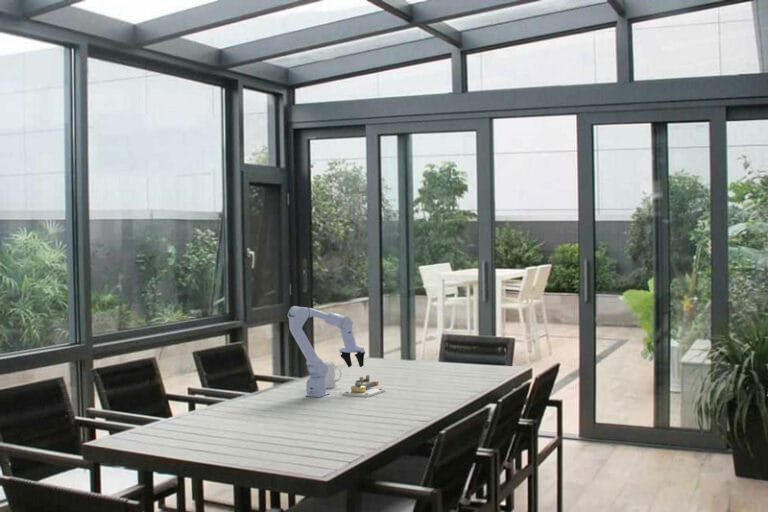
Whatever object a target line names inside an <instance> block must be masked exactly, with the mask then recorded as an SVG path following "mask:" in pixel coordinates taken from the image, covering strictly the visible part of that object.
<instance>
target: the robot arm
mask: <svg viewBox="0 0 768 512" xmlns="http://www.w3.org/2000/svg"><path fill="white" fill-rule="evenodd" d="M287 317H288V326H289V331H290V333H291V335H292V336H293V338H294V340H295V342H296V343H297V346H298V348H299V349H300V351H301V353H302V355H303V356H304V358H305V359H306V362H305V365H306V366H307V371H308V373H309V375H310V377H309V379H307V380H306V384H305V385H306V394H304V396H305V397H313V398H320V397H323V396H327V395H330V392H327V388H326V374H327V372H328V367H327V365H326V364H325V363H323V362H324V361H323V360H322V359H321V358H320V357H319V356H318V355H317V353H316V351H315V349H314V347H313V346H312V344H311V342H310V340H309V339H308V337H307V335H306V333H305V331H304V330H303V327H304V325H305V323H306V321H307V320H308V318H309V319H310V318H312V317H313V318H318V319H321V320H324V322H325V323H326V324H329V325H332V326H335V327H337V328H338V329H339V330H340V334H341V335H340V336H341V338H342V342H343V345H344V347H343V348H342V347H341V348H339V350H338V351H339V353H340V358H341V359H343V361H344V363H346V365H347V367H348V368H351V367H352V366H353V365H352V364H353V363H352V359H351V353H353V354H354V356H355V357H356V360H357V362H358V366H359V368H362V367H364V362H365V361H364V360H365V353H366V351H365V348H364V347H360V346H358V345H357V342H356V338H355V335H354V330H353V324H354V322H353V320H352V318H351V317H350V316H344V314H342V313H340V314H338V313H336V312H335V311H328V312H324V311H320V310H318V309H316V308H312V307H305V306H298V305H293V306H291V307H290V308H289V310H288V313H287Z"/></svg>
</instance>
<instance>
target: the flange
mask: <svg viewBox="0 0 768 512" xmlns="http://www.w3.org/2000/svg"><path fill="white" fill-rule="evenodd" d="M354 386H362V385H361V383H356V382H355V383H354ZM385 392H386V389H384V388H373V387H371V388H368V389H366V392H361V393H354V392H351V390H349V391H348V390H347V391H344V392H342V396H345V397H346V396H350V397H358V396H359V397H360V398H370V397H372V396H376V395H380V394H382V393H385Z"/></svg>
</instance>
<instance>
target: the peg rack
mask: <svg viewBox="0 0 768 512" xmlns="http://www.w3.org/2000/svg"><path fill="white" fill-rule="evenodd" d="M370 378H371V377H370V375H369V374H366V375H365V378H364V376H359V379H358V380H355V383H361V385H363V384H367V383H370V382H372V381H373V380H370Z"/></svg>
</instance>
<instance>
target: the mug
mask: <svg viewBox="0 0 768 512" xmlns="http://www.w3.org/2000/svg"><path fill="white" fill-rule="evenodd" d="M323 363H325V364H326V365H327V367H328V372H327V374H326V389H334V388H336V387H337V382H339V381H340V380H341V377H342V374H343V373H342V370H341V369H340V367H339V366H337V365H336V362H334V361H323ZM336 369H338V371H339V373H340V375H339V378H337V373H336Z"/></svg>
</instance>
